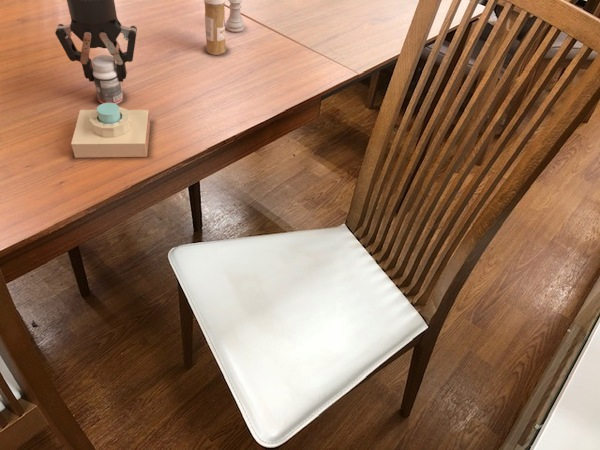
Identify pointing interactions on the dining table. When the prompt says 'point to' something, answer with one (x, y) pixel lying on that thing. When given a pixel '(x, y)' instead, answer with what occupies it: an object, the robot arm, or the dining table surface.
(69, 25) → the robot arm
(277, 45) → the dining table surface
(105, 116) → the teal button cap
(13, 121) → the dining table surface
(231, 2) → the rook chess piece
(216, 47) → the sprinkles bottle
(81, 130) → the button base
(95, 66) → the pill bottle
